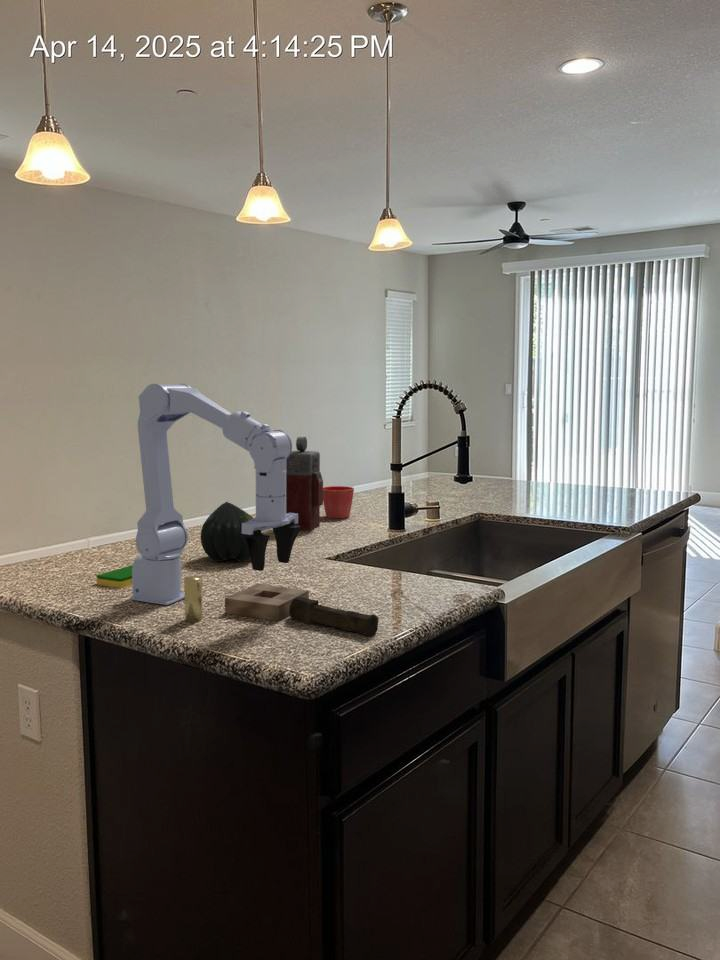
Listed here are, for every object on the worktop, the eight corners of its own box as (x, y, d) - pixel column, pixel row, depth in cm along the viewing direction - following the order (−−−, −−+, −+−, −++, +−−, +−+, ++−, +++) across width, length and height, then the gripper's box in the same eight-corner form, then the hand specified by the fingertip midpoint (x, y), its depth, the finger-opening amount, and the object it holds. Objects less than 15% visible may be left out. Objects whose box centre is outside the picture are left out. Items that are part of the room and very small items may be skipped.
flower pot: (316, 515, 266) (316, 486, 265) (346, 513, 271) (346, 485, 270) (328, 520, 257) (328, 490, 255) (359, 518, 261) (359, 489, 260)
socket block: (225, 613, 154) (224, 598, 153) (257, 598, 164) (257, 583, 164) (279, 621, 149) (278, 605, 148) (308, 605, 160) (308, 590, 159)
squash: (244, 547, 188) (256, 494, 197) (185, 546, 191) (199, 494, 200) (260, 575, 200) (271, 524, 208) (205, 574, 203) (217, 524, 211)
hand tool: (380, 634, 143) (380, 609, 142) (367, 640, 139) (367, 614, 139) (299, 615, 153) (299, 592, 153) (285, 620, 150) (285, 596, 150)
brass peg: (181, 620, 149) (180, 579, 148) (191, 616, 151) (191, 575, 150) (195, 623, 147) (195, 580, 146) (205, 618, 150) (205, 577, 149)
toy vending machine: (318, 531, 237) (318, 438, 234) (282, 529, 240) (282, 437, 236) (326, 526, 246) (327, 436, 242) (292, 524, 249) (292, 435, 245)
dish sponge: (95, 586, 174) (95, 575, 174) (138, 572, 187) (138, 562, 187) (120, 589, 171) (120, 579, 171) (162, 576, 184) (162, 565, 183)
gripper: (262, 501, 140) (262, 576, 142) (311, 492, 153) (310, 561, 154) (232, 498, 144) (233, 571, 146) (282, 489, 156) (281, 557, 158)
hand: (271, 566), depth 150 cm, fingers open, 7 cm apart
